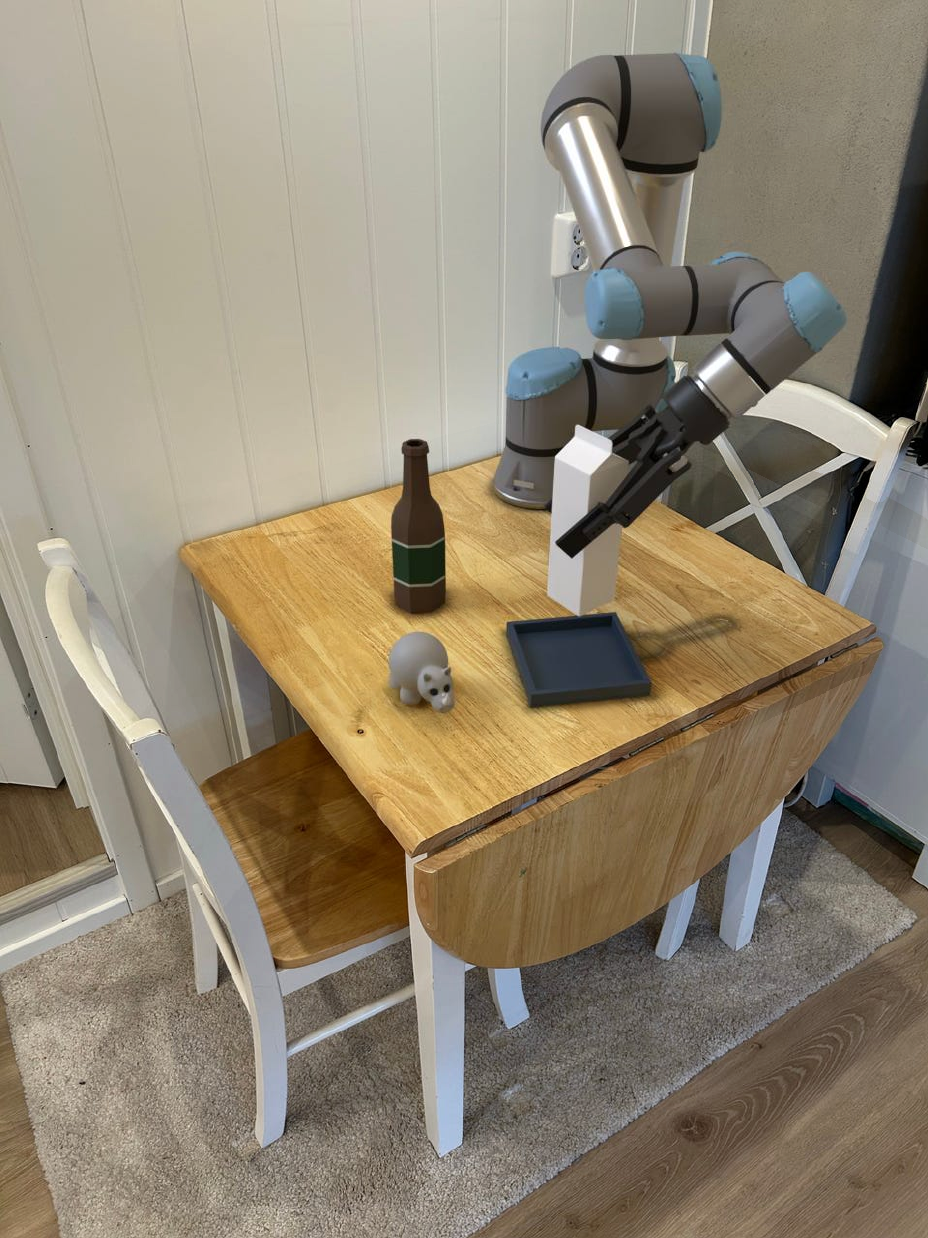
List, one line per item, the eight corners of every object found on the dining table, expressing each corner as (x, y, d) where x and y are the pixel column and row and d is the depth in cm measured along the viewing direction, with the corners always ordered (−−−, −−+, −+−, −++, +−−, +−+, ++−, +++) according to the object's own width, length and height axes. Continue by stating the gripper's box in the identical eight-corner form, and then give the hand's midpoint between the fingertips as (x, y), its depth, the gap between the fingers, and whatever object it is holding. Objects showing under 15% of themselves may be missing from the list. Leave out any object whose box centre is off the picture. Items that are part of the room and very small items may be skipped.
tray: (506, 634, 129) (506, 621, 128) (614, 624, 131) (615, 611, 129) (530, 708, 116) (531, 694, 115) (650, 695, 118) (652, 682, 117)
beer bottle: (454, 590, 138) (453, 434, 124) (436, 619, 132) (433, 459, 118) (404, 581, 140) (397, 427, 126) (384, 609, 134) (375, 451, 120)
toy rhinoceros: (418, 742, 111) (416, 685, 106) (381, 683, 120) (378, 628, 115) (474, 725, 113) (474, 668, 109) (434, 669, 122) (433, 614, 118)
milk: (579, 617, 115) (592, 448, 102) (545, 595, 119) (554, 430, 106) (615, 600, 118) (632, 434, 105) (582, 579, 122) (594, 417, 109)
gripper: (761, 459, 98) (594, 597, 106) (705, 385, 115) (564, 508, 123) (718, 412, 94) (549, 558, 103) (666, 342, 112) (525, 472, 120)
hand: (557, 531), depth 113 cm, fingers closed on milk, 8 cm apart
